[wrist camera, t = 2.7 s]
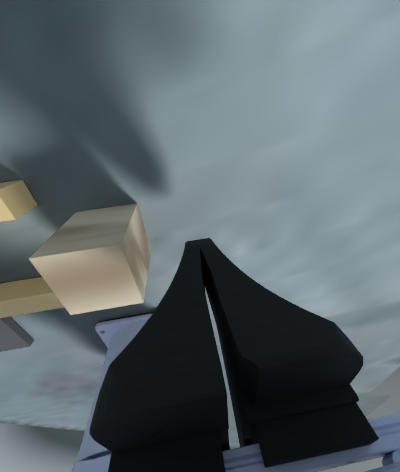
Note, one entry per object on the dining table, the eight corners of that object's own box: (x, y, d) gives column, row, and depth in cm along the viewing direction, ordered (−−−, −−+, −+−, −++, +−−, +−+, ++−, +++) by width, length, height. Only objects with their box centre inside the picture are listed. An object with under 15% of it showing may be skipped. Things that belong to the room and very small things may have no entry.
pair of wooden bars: (85, 285, 16) (75, 305, 14) (10, 297, 15) (-10, 319, 14) (22, 179, 11) (-5, 190, 9) (-88, 194, 11) (-136, 207, 9)
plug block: (151, 250, 15) (143, 302, 11) (99, 258, 15) (70, 315, 10) (137, 203, 13) (120, 244, 9) (76, 211, 13) (28, 258, 8)
